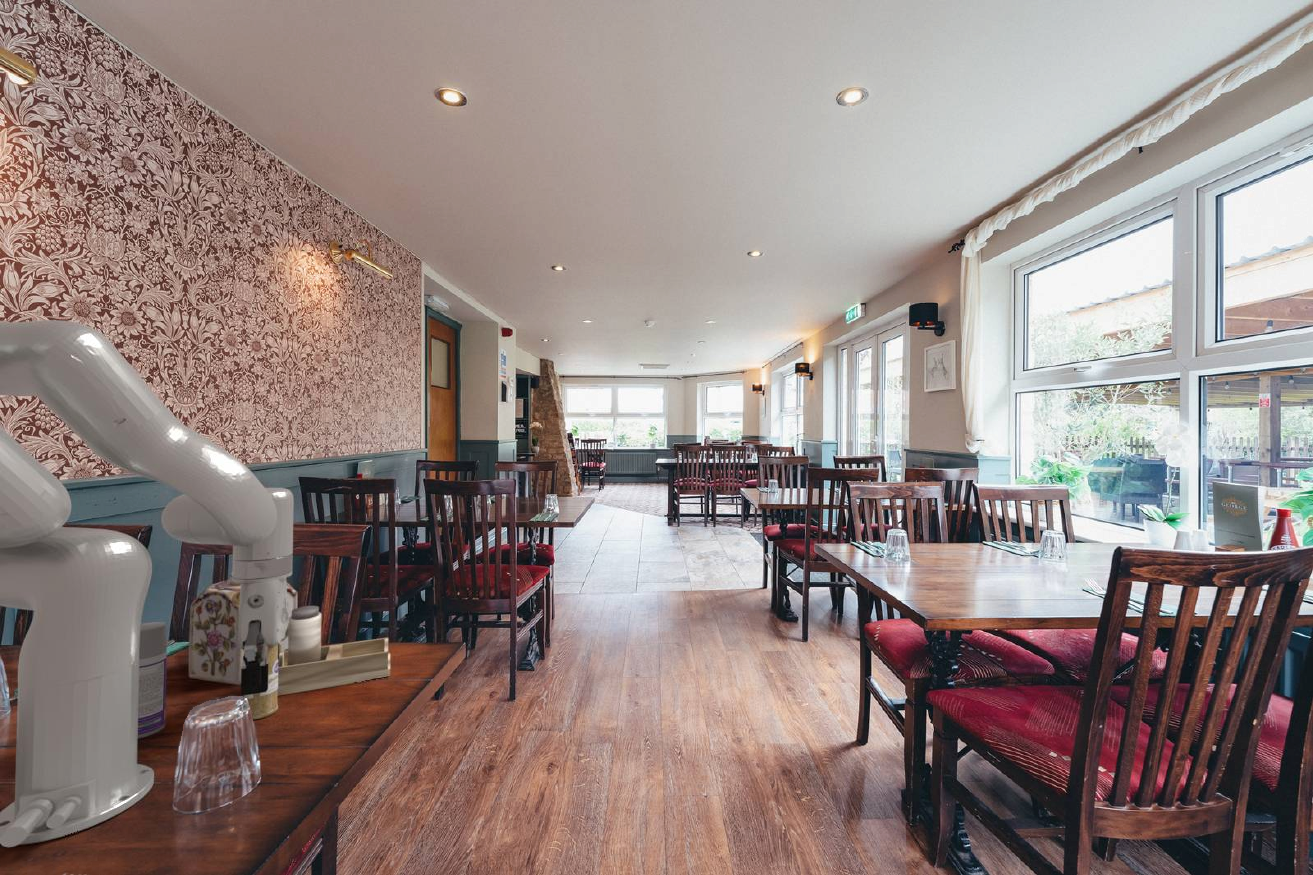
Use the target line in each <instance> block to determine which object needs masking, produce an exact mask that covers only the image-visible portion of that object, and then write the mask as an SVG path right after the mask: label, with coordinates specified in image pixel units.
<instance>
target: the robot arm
mask: <svg viewBox="0 0 1313 875" xmlns="http://www.w3.org/2000/svg"><path fill="white" fill-rule="evenodd" d="M0 396H7V397H37V398H38V399H39V400H40V401H41V402H42V403H43V404H44V405H45V406H46V407H47V408H48V409H49V410H51V412H52V413H54V414H55V416H56V417H58V418H59V420H60V421H62V422H63V423H64V424H65V425H66V426H67V427H68V428H69V429H70V430H71V431H73V433H75V435H76V436H78V437H79V439H80V440H81V441H82V442H83V443H84V444H85V445H86V446H88V448H89V449H90V450H91V451H92V452H93V453H94V454H95V455H97V457H98V458H100V459H101V460H103V461H104V462H106V463H108V464H109V465H112V466H114V467H116V468H119V469H121V470H123V471H125V472H128V473H130V474H134V475H136V476H140V477H143V478H146V479H150V480H152V481H155V482H158V483H161V484H164V485H165V486H168V487H170V488H172V489H174V490H176V491H177V492H179V493H181V495H179V496H177V497H175V498H173V499H172V500H171V501H169V502H168V504H167V505H166V506H165V507H164V508H163V511H162V514H161V518H160V519H161V526H162V528H163V530H164V531H165V532H166V534H168V536H170V537H171V538H173V539H175V540H178V541H180V542H182V543H188V544H197V545H199V544H200V545H222V546H223V545H224V546H231V547H232V572H231V573H232V581H233V582H236V583H241V587H240V596H239V598H240V600H239V620H238V643H239V648H241V649H242V650H244V654H243V660H242V668H241V684H240V695H241V696H243V697H244V695H251V694H257V693H263V692H266V691H267V690H268V671H269V663H268V664H266V660H267V652H268V645H271V644H273V646H276V645H277V644H278V643H279V642H280V641H281V639H282V638H283V636H284V634H285V632H286V630H287V627H288V614H287V583H288V581H287V578H288V577H291V576H292V575H293V562H294V561H293V560H294V559H293V558H294V557H293V556H294V555H293V554H294V553H293V551H294V549H293V548H294V508H295V507H294V505H295V504H294V503H295V502H294V501H295V500H294V495H293V492H292V491H291V490H290V489H288V488H284V487H265V486H264V485H263V484H262V483H261V481H260V480H259V479H258V477H256V475H255V474H254V472H252V471H251V470H250V469H249V468H248V467H247V466H246V465H245V464H244V463H243V462H242V461H240V459H238V458H237V457H236V456H234V455H233V454H231V453H230V452H229V451H227V450H225V449H223V448H222V447H221V446H220V445H219V446H218V445H217V444H215V442H213V441H211V440H210V439H208V438H207V437H206V436H204V435H203V434H200V433H199V432H197V431H195V430H193V428H190V427H189V426H187V425H185V424H184V423H182V421H180V420H179V419H178V418H177V417H176V416H175V415H174V414H173V413H172V411H171V410H170V409H169V408H168V407H167V406H166V404H164V402H163V401H162V400H161V399H160V398H159V396H157V394H156V393H155V392H154V390H152V389H151V387H150V386H149V385H148V384H147V382H146V381H145V380H144V379H143V378H142V376H140V374H139V373H138V372H137V371H136V369H135V368H134V367H133V366H132V365H131V364H130V362H129V361H127V359H126V358H125V357H124V356H123V354H122V353H121V351H119V350H118V348H116V346H115V345H114V344H113V343H112V342H111V340H109V339H108V338H107V337H106V336H105V335H104V334H102V333H101V332H100V331H98V330H97V329H95V328H93V327H91V326H89V325H86V324H84V323H80V322H77V321H70V320H55V319H52V320H51V319H49V320H30V321H29V320H28V321H14V322H12V321H11V322H10V321H5V320H0ZM69 494H70V493H69V492H68V490H67V488H66V487H65V486H64V485H63V483H62V482H61V481H60V480H59V478H57V477H56V476H55V475H54V474H53V473H52V472H50V470H49V469H48V468H46V467H45V466H44V465H43V464H42V463H41V462H40V461H38V459H36V458H35V457H34V456H33V455H32V454H31V453H30V452H29V451H28V450H26V448H24V447H23V445H21V444H20V443H19V442H18V441H17V440H16V439H15V438H14V437H12V436H11V434H10V433H8V432H7V431H6V430H5V429H4V428H3V427H2V426H1V425H0V607H3V608H10V609H18V610H25V611H27V610H28V611H34V613H33V618H32V620H31V623H30V625H29V629H28V630H27V633H26V635H25V637H24V639H23V642H22V645H21V647H20V653H19V658H18V664H17V665H18V666H17V667H18V668H17V708H16V709H17V714H16V716H17V717H16V744H15V745H16V748H15V750H16V751H15V784H14V786H15V787H14V792H15V793H14V801H13V802H11V803H10V804H8V806H6V807H5V808H3V809H2V810H1V811H0V845H1V846H2V847H6V848H13V847H16V846H20V845H27V844H28V845H29V844H36V843H41V842H46V841H51V840H55V839H58V838H62V837H65V835H66V836H68V834H69V835H71V833H72V834H75V833H78V832H80V831H84V830H86V829H89V828H91V827H93V826H95V825H98V824H101V823H102V822H105V821H107V820H109V819H112V818H114V817H115V816H117V815H119V814H121V813H122V812H124V811H125V810H127V809H129V808H131V807H132V806H133V805H135V804H136V803H137V802H139V801H140V800H142V798H144V797H145V796H146V795H147V793H149V792H150V790H151V789H152V788H153V785H154V782H155V771H154V770H153V769H152V768H151V767H149V766H147V765H145V764H139V763H138V739H137V737H138V695H139V647H140V628H141V624H142V617H143V610H144V606H145V603H146V598H147V596H148V591H149V588H150V584H151V581H152V580H151V579H152V575H153V574H152V573H153V563H152V558H151V555H150V552H149V551H148V550H147V548H146V546H145V545H143V543H141V542H140V541H139V540H138V539H137V538H135V537H133V536H130V535H128V534H126V533H123V532H121V531H117V530H110V529H105V528H91V527H77V526H76V527H73V526H72V527H71V526H70V527H69V526H68V527H66V526H65V527H64V525H65V524H66V522H67V521H68V519H69V518H70V515H71V513H72V500H71V497H70V495H69ZM260 630H261V631H260ZM261 641H264V643H262V644H257V643H258V642H261ZM257 650H262V655H261V653H260V652H257ZM278 667H279V644H278ZM77 831H78V832H77ZM74 832H75V833H74Z"/></svg>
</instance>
